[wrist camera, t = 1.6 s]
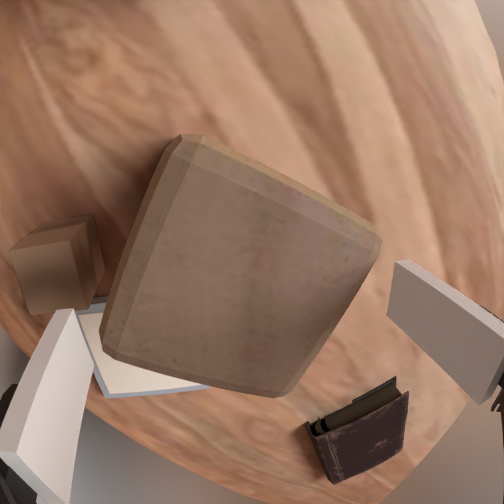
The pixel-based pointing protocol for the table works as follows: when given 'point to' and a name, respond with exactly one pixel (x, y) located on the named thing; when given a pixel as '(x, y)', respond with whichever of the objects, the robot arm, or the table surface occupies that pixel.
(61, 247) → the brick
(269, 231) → the block
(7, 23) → the table surface
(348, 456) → the diary
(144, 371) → the board
